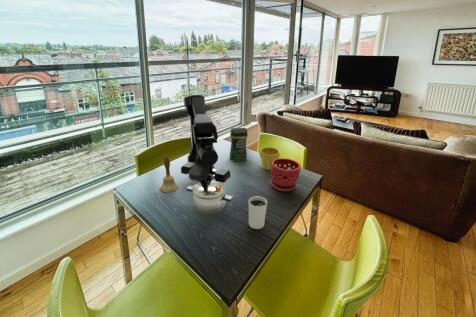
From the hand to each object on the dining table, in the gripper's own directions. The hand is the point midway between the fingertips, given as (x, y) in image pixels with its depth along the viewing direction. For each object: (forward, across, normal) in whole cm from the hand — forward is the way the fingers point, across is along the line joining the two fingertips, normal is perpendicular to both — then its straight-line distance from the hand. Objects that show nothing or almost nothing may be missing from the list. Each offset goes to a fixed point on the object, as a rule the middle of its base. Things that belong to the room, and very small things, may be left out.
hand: (205, 191), depth 100 cm
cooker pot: (+8, 0, +3) cm, 8 cm away
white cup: (+8, +22, -1) cm, 23 cm away
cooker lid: (+1, 0, +3) cm, 3 cm away
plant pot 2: (+8, +25, +30) cm, 39 cm away
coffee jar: (+7, -6, +49) cm, 50 cm away
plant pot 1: (+7, +13, +46) cm, 48 cm away
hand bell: (+8, -23, +7) cm, 25 cm away
